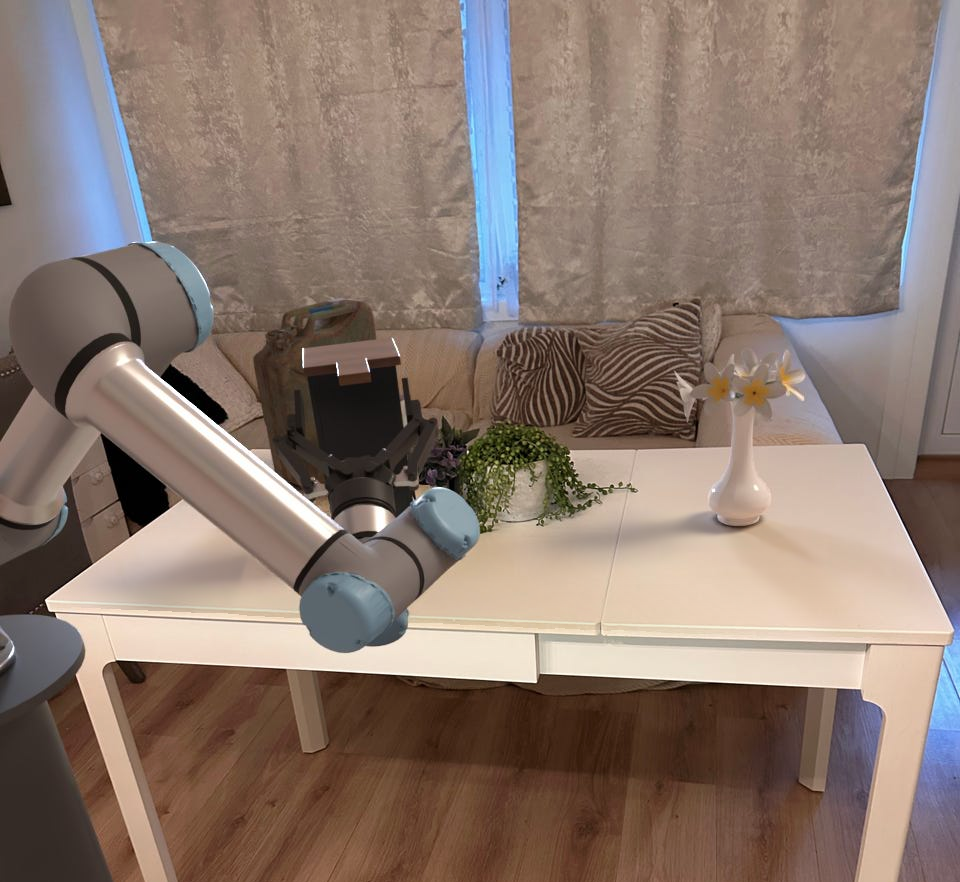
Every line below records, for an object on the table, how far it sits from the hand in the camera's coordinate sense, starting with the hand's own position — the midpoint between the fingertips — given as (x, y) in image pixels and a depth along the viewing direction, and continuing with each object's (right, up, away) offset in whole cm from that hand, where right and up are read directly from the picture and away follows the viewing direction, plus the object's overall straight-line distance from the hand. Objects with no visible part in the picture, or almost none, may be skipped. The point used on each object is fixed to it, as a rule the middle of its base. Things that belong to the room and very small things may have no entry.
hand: (352, 391), depth 121 cm
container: (-11, +1, +62) cm, 63 cm away
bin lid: (-1, +5, +9) cm, 10 cm away
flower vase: (+55, -14, +24) cm, 62 cm away
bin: (+1, -18, +26) cm, 31 cm away
